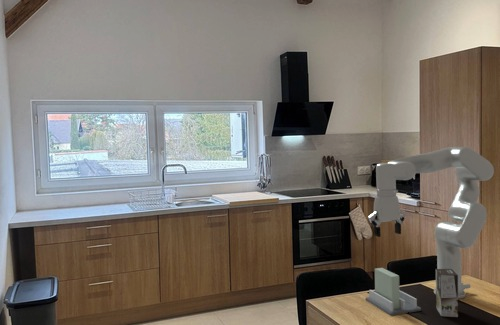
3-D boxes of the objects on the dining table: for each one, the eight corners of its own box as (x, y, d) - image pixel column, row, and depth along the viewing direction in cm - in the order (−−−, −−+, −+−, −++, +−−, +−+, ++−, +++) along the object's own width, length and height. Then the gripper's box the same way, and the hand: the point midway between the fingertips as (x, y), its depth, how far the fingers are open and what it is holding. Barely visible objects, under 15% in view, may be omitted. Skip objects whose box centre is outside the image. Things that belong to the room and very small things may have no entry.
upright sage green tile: (382, 298, 188) (381, 267, 187) (399, 308, 176) (399, 275, 175) (375, 299, 187) (374, 268, 186) (392, 309, 175) (391, 276, 174)
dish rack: (394, 295, 193) (393, 285, 192) (421, 310, 175) (420, 299, 175) (365, 299, 189) (365, 289, 188) (390, 315, 171) (390, 304, 171)
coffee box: (458, 317, 168) (458, 275, 167) (440, 316, 169) (440, 274, 168) (452, 308, 177) (452, 268, 176) (435, 307, 178) (435, 268, 177)
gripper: (398, 190, 187) (400, 230, 188) (362, 194, 182) (364, 235, 182) (410, 192, 179) (411, 234, 180) (373, 196, 174) (374, 239, 175)
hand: (387, 234), depth 181 cm, fingers open, 9 cm apart
